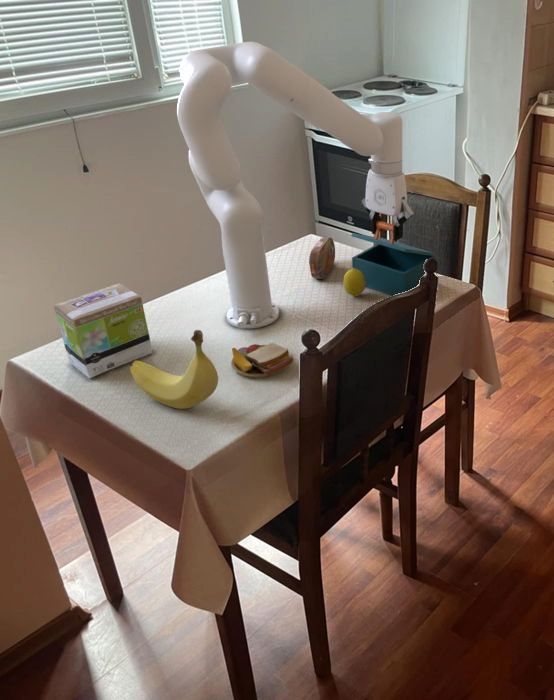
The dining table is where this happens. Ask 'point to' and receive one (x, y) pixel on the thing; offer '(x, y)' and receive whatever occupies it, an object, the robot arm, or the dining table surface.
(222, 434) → the dining table surface
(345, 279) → the lemon
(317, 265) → the tin
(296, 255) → the dining table surface
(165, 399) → the banana
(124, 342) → the tea box
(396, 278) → the box
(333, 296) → the dining table surface
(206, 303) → the dining table surface
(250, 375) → the toy sandwich meal
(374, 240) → the lunchbox lid
